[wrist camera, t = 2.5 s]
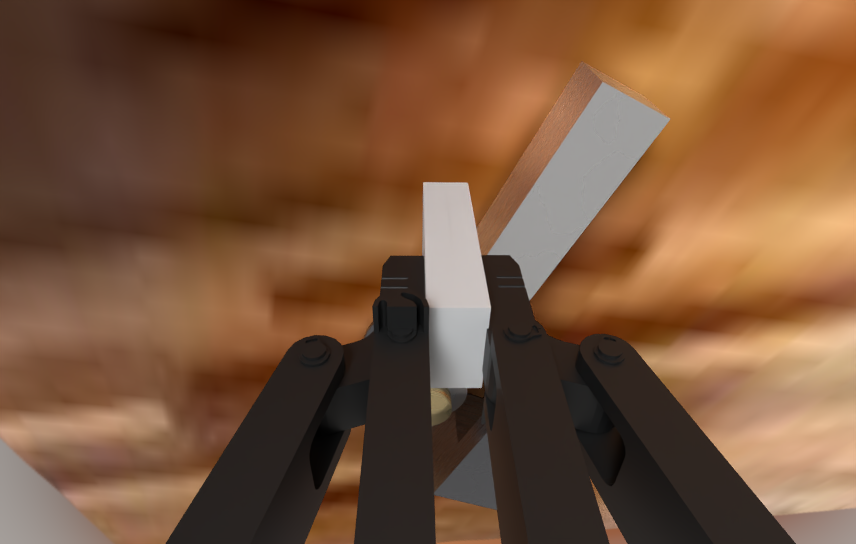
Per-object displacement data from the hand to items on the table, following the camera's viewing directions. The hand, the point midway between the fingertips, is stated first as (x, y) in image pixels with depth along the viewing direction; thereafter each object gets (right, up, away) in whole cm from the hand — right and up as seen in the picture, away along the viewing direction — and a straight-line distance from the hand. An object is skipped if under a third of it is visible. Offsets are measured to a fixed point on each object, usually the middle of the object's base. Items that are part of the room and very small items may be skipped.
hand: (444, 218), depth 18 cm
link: (+3, -1, +11) cm, 11 cm away
